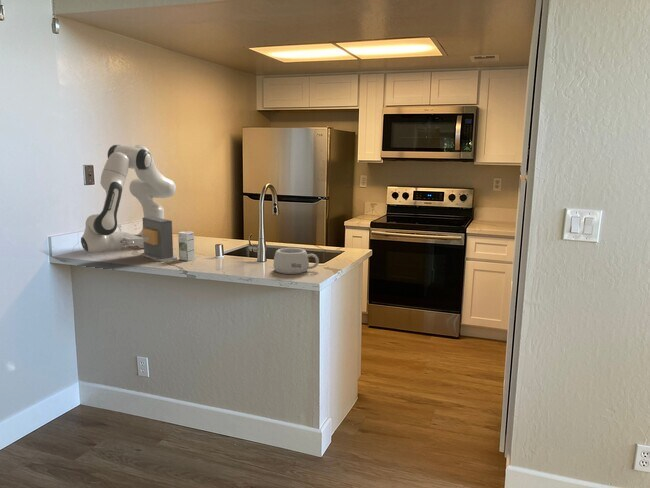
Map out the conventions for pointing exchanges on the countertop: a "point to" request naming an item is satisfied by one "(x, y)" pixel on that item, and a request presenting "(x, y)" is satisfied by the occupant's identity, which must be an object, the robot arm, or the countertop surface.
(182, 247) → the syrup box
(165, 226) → the switch box
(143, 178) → the robot arm
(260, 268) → the countertop surface
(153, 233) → the switch button
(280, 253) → the mug
